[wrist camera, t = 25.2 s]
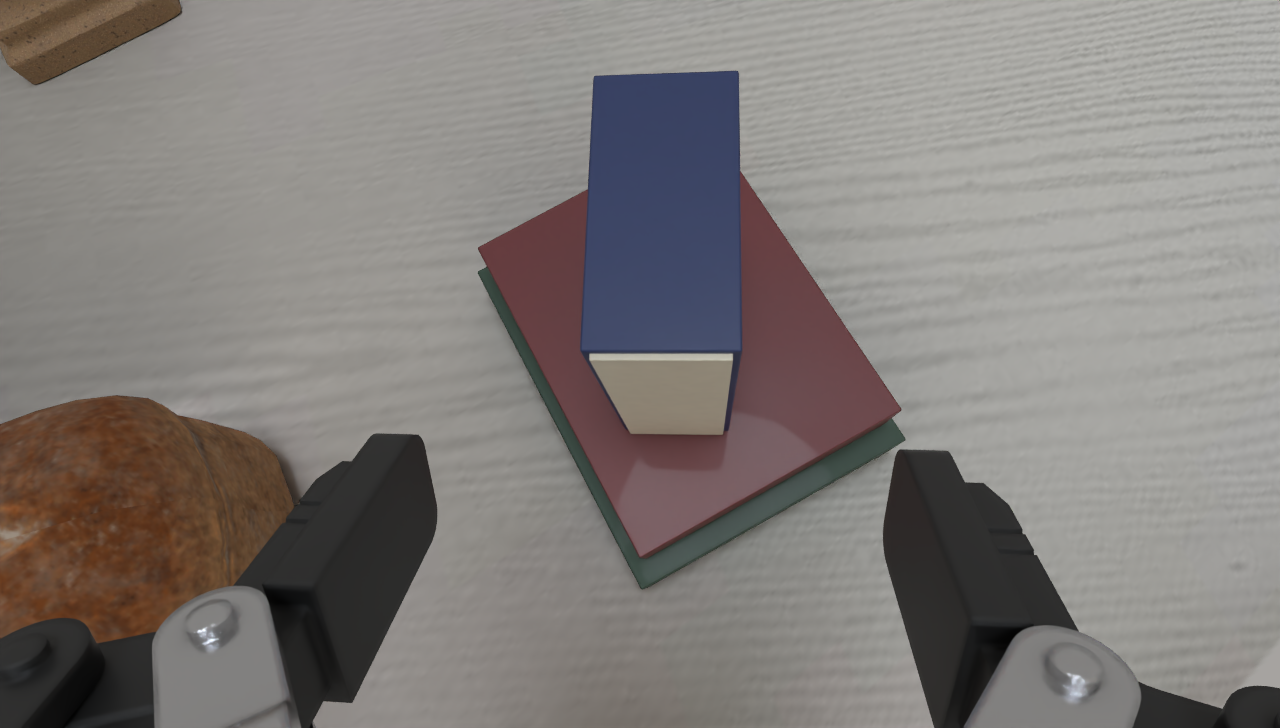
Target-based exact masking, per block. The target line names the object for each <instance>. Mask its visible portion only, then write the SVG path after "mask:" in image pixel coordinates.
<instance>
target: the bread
mask: <svg viewBox="0 0 1280 728" xmlns="http://www.w3.org/2000/svg"><path fill="white" fill-rule="evenodd" d="M293 508H294V504H293V501H292V498H291V495H290V493H289V490H288V487H287V484H286V481H285V478H284V476H283V473H282V470H281V467H280V465H279V462H278V459H277V456H276V455H275V454H274V453H273V452H272V451H271V450H270V449H269V448H268V447H267V446H266V445H265V444H264V443H263V442H262V441H261V440H259V439H257V438H255V437H253V436H251V435H249V434H247V433H245V432H242V431H238V430H234V429H231V428H227V427H224V426H220V425H216V424H213V423H209V422H206V421H202V420H197V419H192V418H188V417H183V416H178V415H176V414H175V413H174V412H172V411H171V410H169V409H168V408H166V407H165V406H163V405H161V404H159V403H157V402H155V401H153V400H151V399H148V398H138V397H128V396H118V395H116V396H107V397H99V398H91V399H82V400H75V401H72V402H68V403H64V404H60V405H57V406H53V407H49V408H46V409H42V410H38V411H35V412H32V413H30V414H27V415H24V416H22V417H19V418H16V419H13V420H11V421H8V422H5V423H3V424H0V639H1V638H3V637H5V636H7V635H8V634H10V633H12V632H14V631H16V630H19V629H21V628H23V627H26V626H28V625H31V624H34V623H37V622H41V621H44V620H49V619H55V618H73V619H77V620H80V621H81V622H83V623H85V624H86V626H87V627H88V628H89V630H90V632H91V634H92V635H93V637H94V639H95V641H96V643H102V642H107V641H112V640H117V639H122V638H127V637H131V636H136V635H141V634H146V633H151V632H156V631H157V630H158V629H159V627H160V626H161V624H162V623H163V622H164V621H165V620H166V619H167V618H168V617H169V616H170V615H171V614H172V613H173V612H174V611H175V610H177V609H178V608H179V607H180V606H182V605H183V604H185V603H186V602H188V601H190V600H192V599H193V598H195V597H197V596H199V595H202V594H204V593H206V592H209V591H212V590H215V589H219V588H223V587H229V586H233V585H234V584H235V583H236V581H237V580H238V579H239V578H240V576H241V575H242V574H243V572H244V571H245V570H246V569H247V567H248V566H249V565H250V563H251V562H252V561H253V560H254V558H255V557H256V556H257V555H258V553H259V552H260V551H261V549H262V548H263V547H264V546H265V544H266V543H267V542H268V540H269V539H270V538H271V537H272V535H273V534H274V533H275V531H276V530H277V529H278V528H279V526H280V525H281V524H282V523H285V522H286V517H287V516H288V515H289V514H290V512H291V511H292V510H293Z"/></svg>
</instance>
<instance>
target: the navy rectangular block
mask: <svg viewBox="0 0 1280 728" xmlns="http://www.w3.org/2000/svg"><path fill="white" fill-rule="evenodd" d="M580 351H581V353H582V355H583V357H584V358H585V360H586V362H587V363H588V365H589V367H590V369H591V370H592V372H593V374H594V376H595V377H596V379H597V381H598V383H599V384H600V386H601V388H602V390H603V391H604V393H605V395H606V396H607V398H608V400H609V402H610V403H611V405H612V407H613V409H614V410H615V412H616V414H617V416H618V417H619V419H620V421H621V422H622V424H623V426H624V428H625V429H626V430H629V432H630V434H691V435H723V431H728V430H729V425H730V419H731V413H732V407H733V402H734V396H735V390H736V384H737V378H738V372H739V367H740V361H741V355H742V280H741V203H740V125H739V73H738V71H719V72H690V73H662V74H633V75H604V76H594V80H593V100H592V119H591V139H590V159H589V179H588V199H587V219H586V238H585V258H584V278H583V298H582V318H581V338H580Z"/></svg>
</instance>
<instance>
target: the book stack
mask: <svg viewBox="0 0 1280 728" xmlns="http://www.w3.org/2000/svg"><path fill="white" fill-rule="evenodd" d="M587 199H588V190H586V191H584V192H582V193H580V194H578V195H576V196H574V197H572V198H571V199H569V200H567V201H565V202H563V203H561V204H559V205H557V206H555V207H554V208H552V209H550V210H548V211H546V212H544V213H542V214H540V215H539V216H537V217H535V218H533V219H531V220H529V221H527V222H525V223H523V224H522V225H520V226H518V227H516V228H514V229H512V230H510V231H508V232H506V233H505V234H503V235H501V236H499V237H497V238H495V239H493V240H491V241H489V242H488V243H486V244H484V245H482V246H480V247H478V250H479V252H480V254H481V256H482V258H483V260H484V262H485V263H486V265H487V267H486V268H484V269H482V270H480V271H478V274H479V276H480V278H481V280H482V282H483V284H484V286H485V288H486V290H487V292H488V294H489V296H490V298H491V300H492V302H493V304H494V305H495V307H496V309H497V311H498V313H499V315H500V317H501V319H502V321H503V323H504V325H505V327H506V329H507V331H508V333H509V334H510V336H511V338H512V340H513V342H514V344H515V346H516V348H517V350H518V352H519V354H520V356H521V358H522V360H523V362H524V364H525V365H526V367H527V369H528V371H529V373H530V375H531V377H532V379H533V381H534V383H535V385H536V387H537V389H538V391H539V393H540V394H541V396H542V398H543V400H544V402H545V404H546V406H547V408H548V410H549V412H550V414H551V416H552V418H553V420H554V422H555V424H556V425H557V427H558V429H559V431H560V433H561V435H562V437H563V439H564V441H565V443H566V445H567V447H568V449H569V451H570V453H571V454H572V456H573V458H574V460H575V462H576V464H577V466H578V468H579V470H580V472H581V474H582V476H583V478H584V480H585V482H586V484H587V485H588V487H589V489H590V491H591V493H592V495H593V497H594V499H595V501H596V503H597V505H598V507H599V509H600V511H601V513H602V515H603V516H604V518H605V520H606V522H607V524H608V526H609V528H610V530H611V532H612V534H613V536H614V538H615V540H616V542H617V544H618V545H619V547H620V549H621V551H622V553H623V555H624V557H625V559H626V561H627V563H628V565H629V567H630V569H631V571H632V573H633V575H634V576H635V578H636V580H637V582H638V584H639V586H640V588H641V589H645V588H648V587H650V586H652V585H653V584H655V583H657V582H659V581H660V580H662V579H664V578H666V577H667V576H669V575H671V574H673V573H674V572H676V571H678V570H680V569H681V568H683V567H685V566H687V565H688V564H690V563H692V562H694V561H696V560H697V559H699V558H701V557H703V556H704V555H706V554H708V553H710V552H711V551H713V550H715V549H717V548H718V547H720V546H722V545H724V544H725V543H727V542H729V541H731V540H732V539H734V538H736V537H738V536H739V535H741V534H743V533H745V532H747V531H748V530H750V529H752V528H754V527H755V526H757V525H759V524H761V523H762V522H764V521H766V520H768V519H769V518H771V517H773V516H775V515H776V514H778V513H780V512H782V511H783V510H785V509H787V508H789V507H790V506H792V505H794V504H796V503H798V502H799V501H801V500H803V499H805V498H806V497H808V496H810V495H812V494H813V493H815V492H817V491H819V490H820V489H822V488H824V487H826V486H827V485H829V484H831V483H833V482H834V481H836V480H838V479H840V478H841V477H843V476H845V475H847V474H849V473H850V472H852V471H854V470H856V469H857V468H859V467H861V466H863V465H864V464H866V463H868V462H870V461H871V460H873V459H875V458H877V457H878V456H880V455H882V454H884V453H885V452H887V451H889V450H891V449H892V448H894V447H895V446H897V445H898V444H900V443H902V442H903V441H905V437H904V436H903V434H902V433H901V431H900V430H899V428H898V427H897V425H896V424H895V422H894V421H893V419H892V417H894V416H895V415H896V414H897V413H899V412H900V411H901V408H900V406H899V405H898V403H897V402H896V401H895V399H894V398H893V396H892V395H891V393H890V392H889V390H888V389H887V387H886V386H885V384H884V383H883V381H882V380H881V378H880V377H879V375H878V374H877V372H876V371H875V369H874V368H873V367H872V365H871V364H870V362H869V361H868V359H867V358H866V356H865V355H864V353H863V352H862V350H861V349H860V347H859V346H858V344H857V343H856V341H855V340H854V338H853V337H852V335H851V334H850V333H849V331H848V330H847V328H846V327H845V325H844V324H843V322H842V321H841V319H840V318H839V316H838V315H837V313H836V312H835V310H834V309H833V307H832V306H831V304H830V303H829V301H828V300H827V299H826V297H825V296H824V294H823V293H822V291H821V290H820V288H819V287H818V285H817V284H816V282H815V281H814V279H813V278H812V276H811V275H810V273H809V272H808V270H807V269H806V267H805V266H804V265H803V263H802V262H801V260H800V259H799V257H798V256H797V254H796V253H795V251H794V250H793V248H792V247H791V245H790V244H789V242H788V241H787V239H786V238H785V236H784V235H783V233H782V232H781V231H780V229H779V228H778V226H777V225H776V223H775V222H774V220H773V219H772V217H771V216H770V214H769V213H768V211H767V210H766V208H765V207H764V205H763V204H762V202H761V201H760V199H759V198H758V197H757V195H756V194H755V192H754V191H753V189H752V188H751V186H750V185H749V183H748V182H747V180H746V179H745V177H744V176H743V174H742V173H741V171H740V203H741V280H742V355H741V361H740V367H739V372H738V378H737V384H736V390H735V396H734V402H733V407H732V413H731V419H730V425H729V430H728V431H723V435H691V434H630V432H629V430H626V429H625V428H624V426H623V424H622V422H621V421H620V419H619V417H618V416H617V414H616V412H615V410H614V409H613V407H612V405H611V403H610V402H609V400H608V398H607V396H606V395H605V393H604V391H603V390H602V388H601V386H600V384H599V383H598V381H597V379H596V377H595V376H594V374H593V372H592V370H591V369H590V367H589V365H588V363H587V362H586V360H585V358H584V357H583V355H582V353H581V351H580V338H581V318H582V298H583V278H584V258H585V238H586V219H587Z"/></svg>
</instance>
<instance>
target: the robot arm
mask: <svg viewBox="0 0 1280 728" xmlns="http://www.w3.org/2000/svg"><path fill="white" fill-rule="evenodd" d="M436 524H437V504H436V499H435V494H434V489H433V484H432V479H431V475H430V470H429V465H428V460H427V455H426V450H425V446H424V442H423V440H422V438H421V437H420V436H419V435H412V434H373V435H372V436H371V437H370V438H369V439H368V440H367V442H366V443H365V444H364V446H363V447H362V448H361V450H360V451H359V453H358V454H357V455H356V457H355V458H354V459H353V461H352V462H349V461H342V462H340V463H339V464H338V465H336V466H335V467H333V468H332V469H330V470H329V471H328V472H326V473H325V474H323V475H322V476H320V477H319V478H318V479H316V480H315V482H314V483H313V484H312V485H311V487H310V488H309V489H308V491H307V492H306V493H305V494H304V496H303V497H302V498H301V500H300V504H299V505H296V506H295V507H294V508H293V510H292V511H291V512H290V514H289V515H288V516H287V517H286V522H285V523H282V524H281V525H280V526H279V528H278V529H277V530H276V531H275V533H274V534H273V535H272V537H271V538H270V539H269V540H268V542H267V543H266V544H265V546H264V547H263V548H262V549H261V551H260V552H259V553H258V555H257V556H256V557H255V558H254V560H253V561H252V562H251V563H250V565H249V566H248V567H247V569H246V570H245V571H244V572H243V574H242V575H241V576H240V578H239V579H238V580H237V581H236V583H235V584H234V585H233V586H229V587H223V588H219V589H215V590H212V591H209V592H206V593H204V594H202V595H199V596H197V597H195V598H193V599H192V600H190V601H188V602H186V603H185V604H183V605H182V606H180V607H179V608H178V609H177V610H175V611H174V612H173V613H172V614H171V615H170V616H169V617H168V618H167V619H166V620H165V621H164V622H163V623H162V624H161V626H160V627H159V629H158V630H157V631H156V632H151V633H146V634H141V635H136V636H131V637H127V638H122V639H117V640H112V641H107V642H102V643H96V641H95V639H94V637H93V635H92V634H91V632H90V630H89V628H88V627H87V626H86V624H85V623H83V622H81V621H80V620H77V619H73V618H55V619H49V620H44V621H41V622H37V623H34V624H31V625H28V626H26V627H23V628H21V629H19V630H16V631H14V632H12V633H10V634H8V635H7V636H5V637H3V638H1V639H0V728H316V727H315V724H314V722H313V719H314V718H315V716H316V714H317V712H318V710H319V708H320V706H321V704H322V703H323V701H331V702H346V703H352V702H353V700H354V698H355V696H356V694H357V692H358V690H359V688H360V686H361V684H362V682H363V680H364V678H365V676H366V674H367V672H368V670H369V668H370V666H371V664H372V662H373V660H374V658H375V656H376V654H377V652H378V650H379V648H380V646H381V644H382V642H383V639H384V637H385V635H386V633H387V631H388V629H389V627H390V625H391V623H392V621H393V619H394V617H395V615H396V613H397V611H398V609H399V607H400V605H401V603H402V601H403V599H404V597H405V595H406V593H407V591H408V589H409V587H410V585H411V583H412V581H413V579H414V577H415V575H416V573H417V571H418V569H419V567H420V565H421V563H422V561H423V558H424V556H425V554H426V552H427V550H428V548H429V546H430V544H431V542H432V540H433V537H434V534H435V530H436ZM883 545H884V554H885V559H886V563H887V567H888V570H889V574H890V577H891V581H892V584H893V587H894V591H895V594H896V598H897V601H898V605H899V608H900V611H901V615H902V618H903V622H904V625H905V629H906V632H907V635H908V639H909V642H910V646H911V649H912V653H913V656H914V659H915V663H916V666H917V670H918V673H919V677H920V680H921V683H922V687H923V690H924V694H925V697H926V701H927V704H928V707H929V711H930V714H931V718H932V721H933V725H934V728H1280V689H1279V688H1274V687H1268V686H1250V687H1244V688H1242V689H1239V690H1237V691H1235V692H1234V693H1232V694H1231V696H1230V697H1229V698H1228V700H1227V702H1226V704H1225V705H1224V707H1223V709H1221V708H1218V707H1214V706H1211V705H1208V704H1204V703H1201V702H1198V701H1194V700H1191V699H1187V698H1184V697H1181V696H1177V695H1174V694H1171V693H1167V692H1164V691H1161V690H1158V689H1155V688H1152V687H1149V686H1147V685H1145V684H1142V683H1140V682H1138V681H1137V679H1136V677H1135V675H1134V673H1133V672H1132V671H1131V669H1130V668H1129V667H1128V665H1127V664H1126V663H1125V662H1124V661H1123V660H1122V659H1121V658H1120V657H1119V656H1118V655H1117V654H1116V653H1115V652H1113V651H1112V650H1111V649H1110V648H1108V647H1107V646H1105V645H1104V644H1102V643H1101V642H1099V641H1097V640H1095V639H1094V638H1092V637H1090V636H1088V635H1085V634H1083V633H1081V632H1079V631H1078V629H1077V627H1076V625H1075V624H1074V622H1073V620H1072V618H1071V616H1070V615H1069V613H1068V611H1067V609H1066V607H1065V606H1064V604H1063V602H1062V600H1061V598H1060V597H1059V595H1058V593H1057V591H1056V589H1055V587H1054V586H1053V584H1052V582H1051V580H1050V578H1049V577H1048V575H1047V573H1046V571H1045V569H1044V568H1043V566H1042V564H1041V562H1040V560H1039V559H1038V557H1037V555H1034V549H1033V548H1032V546H1031V544H1030V542H1029V540H1028V539H1027V537H1026V535H1025V534H1023V533H1022V528H1021V526H1020V524H1019V522H1018V521H1017V519H1016V517H1015V515H1014V513H1013V511H1012V510H1011V508H1010V506H1009V505H1008V504H1007V503H1006V502H1005V501H1004V500H1003V499H1001V498H1000V497H999V496H998V495H997V494H996V493H994V492H993V491H992V490H991V489H990V488H989V487H987V486H986V485H985V484H984V483H965V482H964V480H963V478H962V476H961V474H960V472H959V470H958V468H957V466H956V464H955V462H954V460H953V457H952V456H951V454H950V453H949V452H948V451H935V450H899V451H898V452H897V454H896V457H895V461H894V467H893V472H892V478H891V484H890V490H889V496H888V502H887V507H886V513H885V519H884V527H883Z"/></svg>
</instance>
